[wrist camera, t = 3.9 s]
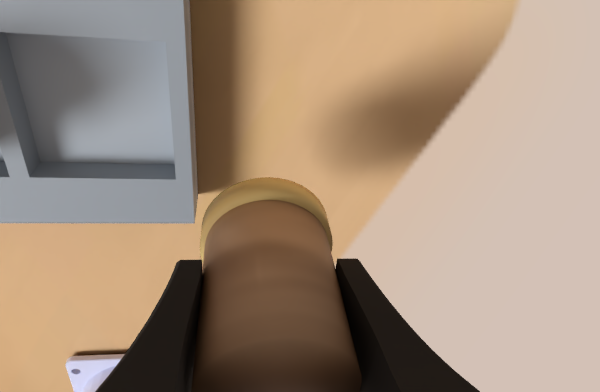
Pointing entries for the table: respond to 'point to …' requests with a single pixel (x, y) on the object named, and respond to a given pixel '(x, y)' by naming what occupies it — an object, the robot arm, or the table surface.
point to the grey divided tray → (97, 112)
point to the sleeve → (271, 295)
